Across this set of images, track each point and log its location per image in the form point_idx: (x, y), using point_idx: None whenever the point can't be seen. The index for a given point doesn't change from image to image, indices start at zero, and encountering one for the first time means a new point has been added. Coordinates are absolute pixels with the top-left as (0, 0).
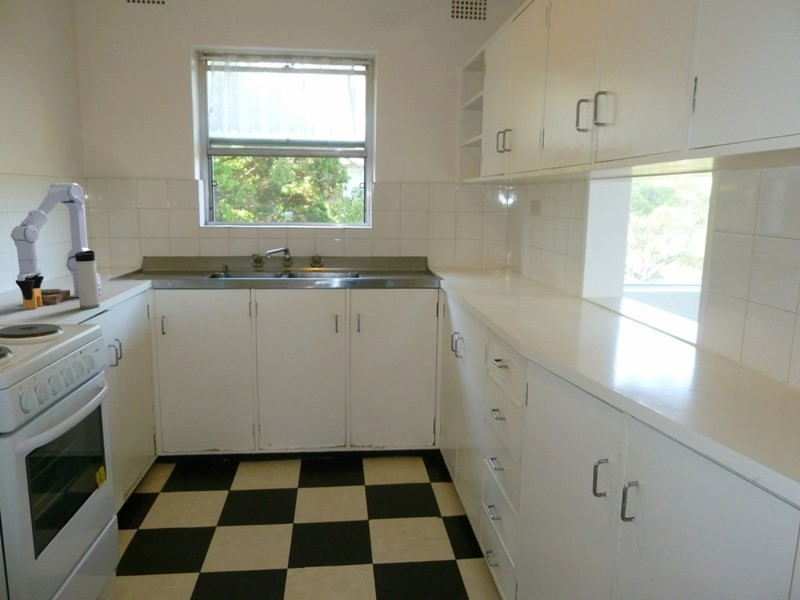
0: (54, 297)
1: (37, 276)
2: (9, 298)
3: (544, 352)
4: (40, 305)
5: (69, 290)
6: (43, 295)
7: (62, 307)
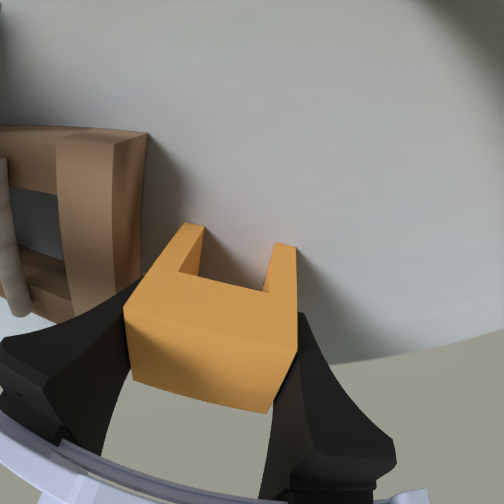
0: (118, 154)
1: (27, 406)
2: None
3: None
4: (201, 233)
5: None
6: (69, 249)
7: (321, 64)
